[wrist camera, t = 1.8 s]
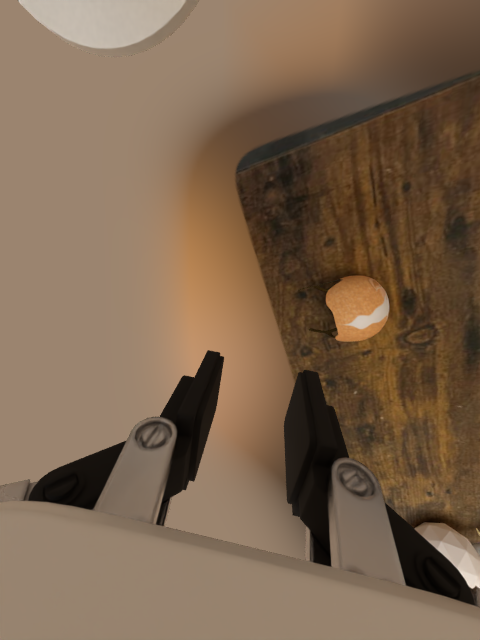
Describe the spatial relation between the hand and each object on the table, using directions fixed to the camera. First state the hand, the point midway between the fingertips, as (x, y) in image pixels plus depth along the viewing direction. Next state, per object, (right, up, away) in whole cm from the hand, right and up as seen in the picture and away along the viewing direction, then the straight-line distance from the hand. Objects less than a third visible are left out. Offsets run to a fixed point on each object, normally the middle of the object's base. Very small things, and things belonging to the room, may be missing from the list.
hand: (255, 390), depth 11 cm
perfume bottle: (+29, -26, +26) cm, 47 cm away
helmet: (+9, +5, +16) cm, 19 cm away
